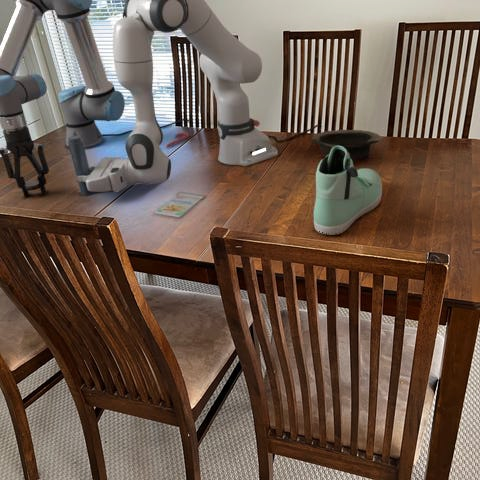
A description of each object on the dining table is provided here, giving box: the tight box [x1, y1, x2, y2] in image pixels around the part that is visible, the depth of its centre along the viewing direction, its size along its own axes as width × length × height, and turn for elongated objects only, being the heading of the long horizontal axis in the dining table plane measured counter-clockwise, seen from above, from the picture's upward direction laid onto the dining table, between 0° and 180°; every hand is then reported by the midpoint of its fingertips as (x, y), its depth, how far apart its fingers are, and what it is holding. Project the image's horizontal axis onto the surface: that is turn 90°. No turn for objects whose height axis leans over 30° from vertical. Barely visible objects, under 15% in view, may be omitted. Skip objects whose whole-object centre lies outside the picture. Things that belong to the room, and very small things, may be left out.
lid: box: [24, 179, 40, 192], centre depth 161 cm, size 5×5×2 cm
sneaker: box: [313, 146, 383, 236], centre depth 133 cm, size 14×35×20 cm, turn 152°
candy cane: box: [165, 132, 190, 148], centre depth 199 cm, size 6×15×2 cm, turn 145°
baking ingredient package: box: [153, 192, 205, 218], centre depth 148 cm, size 9×1×15 cm
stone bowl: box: [310, 129, 384, 164], centre depth 171 cm, size 25×25×9 cm
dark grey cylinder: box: [68, 136, 95, 196], centre depth 156 cm, size 4×4×19 cm
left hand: (35, 194), depth 163 cm, fingers closed on lid, 5 cm apart
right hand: (81, 174), depth 158 cm, fingers closed on dark grey cylinder, 4 cm apart
